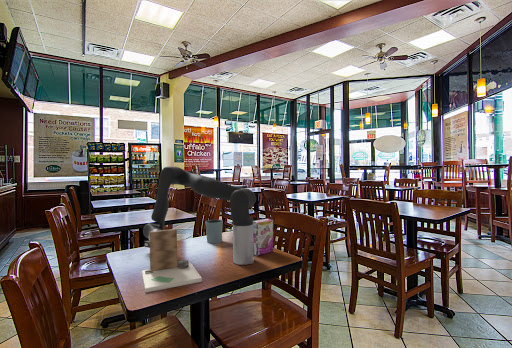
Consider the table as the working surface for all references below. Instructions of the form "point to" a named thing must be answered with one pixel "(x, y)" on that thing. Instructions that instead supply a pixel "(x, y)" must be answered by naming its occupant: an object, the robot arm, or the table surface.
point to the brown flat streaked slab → (164, 251)
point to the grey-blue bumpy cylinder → (214, 231)
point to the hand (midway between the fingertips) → (162, 247)
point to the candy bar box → (263, 236)
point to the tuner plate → (170, 278)
